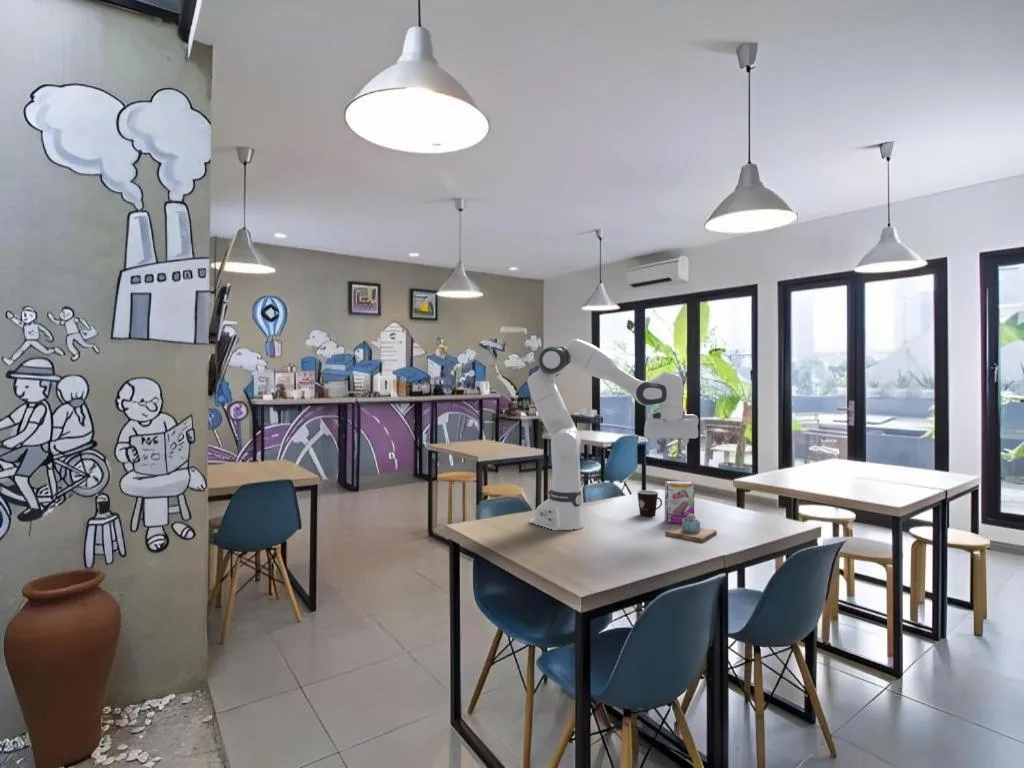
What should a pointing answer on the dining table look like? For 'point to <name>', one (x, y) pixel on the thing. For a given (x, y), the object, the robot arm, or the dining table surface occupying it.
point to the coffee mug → (648, 502)
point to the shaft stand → (698, 537)
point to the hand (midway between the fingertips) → (670, 449)
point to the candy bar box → (678, 501)
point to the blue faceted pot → (690, 526)
